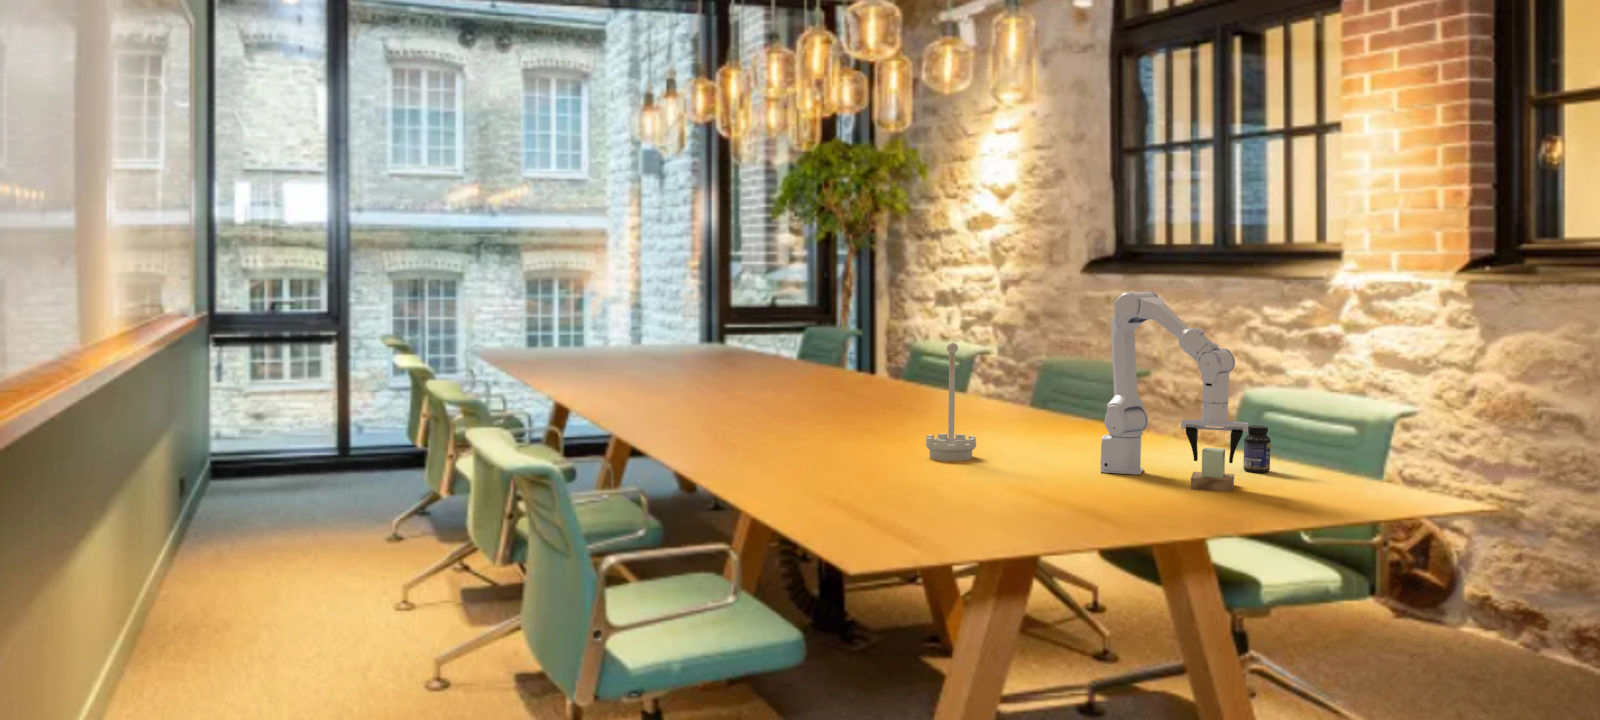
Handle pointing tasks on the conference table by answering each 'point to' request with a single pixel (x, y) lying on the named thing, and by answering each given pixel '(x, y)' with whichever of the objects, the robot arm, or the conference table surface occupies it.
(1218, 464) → the sage block
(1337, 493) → the conference table surface
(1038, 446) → the conference table surface
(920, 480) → the conference table surface
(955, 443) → the flag stand
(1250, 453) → the pill bottle
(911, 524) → the conference table surface
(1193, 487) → the walnut box
